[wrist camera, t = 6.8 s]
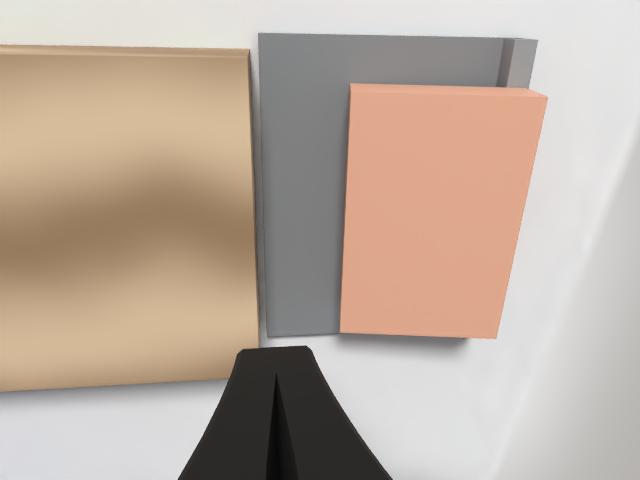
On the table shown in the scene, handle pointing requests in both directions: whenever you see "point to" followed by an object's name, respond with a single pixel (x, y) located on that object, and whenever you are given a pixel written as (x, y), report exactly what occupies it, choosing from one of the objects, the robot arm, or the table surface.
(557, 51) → the table surface
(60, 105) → the deck
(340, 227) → the mat
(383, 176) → the block
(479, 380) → the table surface
